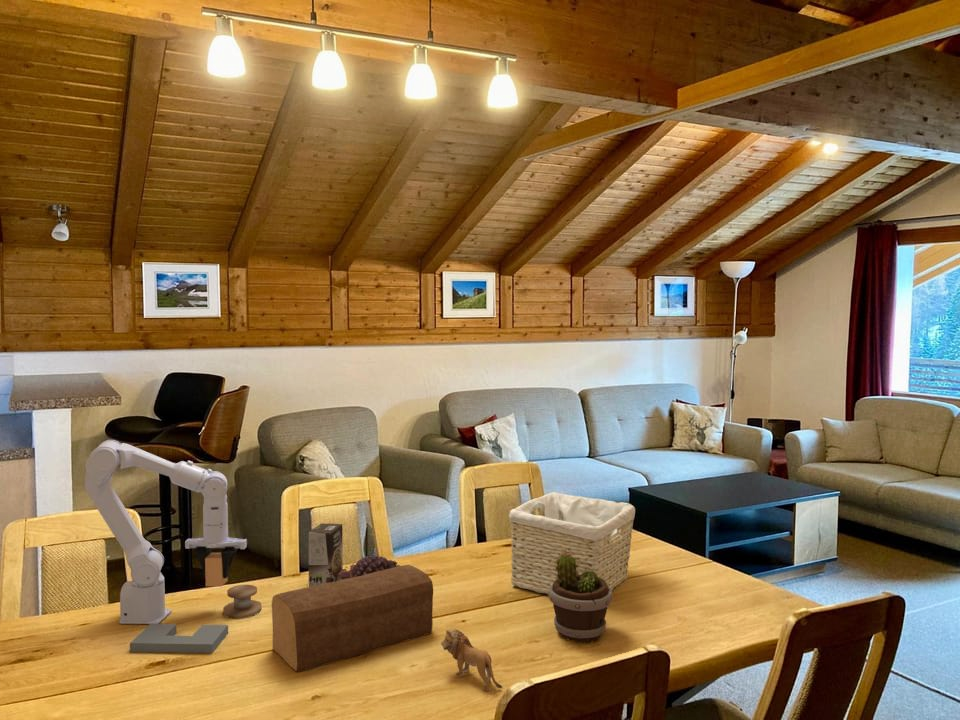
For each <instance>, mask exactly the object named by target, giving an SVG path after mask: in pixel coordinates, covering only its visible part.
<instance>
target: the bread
mask: <svg viewBox="0 0 960 720" xmlns="http://www.w3.org/2000/svg"><path fill="white" fill-rule="evenodd" d="M271 599H272V600H271V615H272V617H271V618H272V624H271V625H272V650H273V651H275V652H276V653H277V654H278V655H279V656H280V657H281V658H282V659H283V660H284V661H285V662H286V663H287V664H288V665H289V666H290V667H291V668H292V669H293V670H294V671H295V672H297V673H299V672H303V671H307V670H310V669H311V670H312V669H315V668H317V667H318V668H319V667H321V666H324V665H328V664H331V663H334V662H338V661H341V660H345V659H349V658H352V657H356V656H359V655H362V654H365V653H369V652H373V651H376V650H379V649H384V648H387V647H390V646H393V645H397V644H400V643H403V642H406V641H410V640H413V639H416V638H419V637H422V636H425V635H426V636H427V635H429V634H432V630H433V623H434V622H433V605H434V600H433V599H434V583H433V580H432V579H431V577H430V576H429V574H428V573H426V572H424V571H423V570H421V569H419V568H418V567H416V566H414V565H411V564H403V565H400V566H398V567H394V568H391V569H386V570H382V571H378V572H374V573H370V574H366V575H362V576H358V577H353V578H348V579H344V580H340V581H336V582H330V583H324V584H320V585H316V586H312V587H309V586H307V587H304V588H303V587H302V588H297V589H294V590H288V591H285V592H280V593H277V594H275V595H273V596H272V598H271Z"/></svg>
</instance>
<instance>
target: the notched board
mask: <svg viewBox="0 0 960 720" xmlns="http://www.w3.org/2000/svg"><path fill="white" fill-rule="evenodd" d="M177 632H178V631H177V623H159V624H148V626H147V627H146V628H144V629H143V630H142V631H141V632H140V633H139V634H138V635H137V636H136V637H135V638H134V639H133V640H131V642H129V652H130V653H164V652H174V654H175V652H178V653H177V654H179V653H180V652H182V653H181V654H213V653H214V652H215V651H216V650H217V648H218V647H219V646H220V645H221V643H222V642H223V641H224V639H225V638H226V637H227V636H228V634H229V625H228V624H201V625H200V627H198V628H197V630H196V631H195V632H194V633H193V634H192V635H176V634H177ZM226 635H227V636H226ZM222 640H223V641H222ZM218 645H219V646H218ZM214 650H215V651H214Z"/></svg>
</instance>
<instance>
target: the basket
mask: <svg viewBox="0 0 960 720" xmlns="http://www.w3.org/2000/svg"><path fill="white" fill-rule="evenodd" d="M536 510H537V512H538V515H535V514H533V512H534V511H536ZM635 514H636V508H635V506H634V505H632V504H631V503H628V502H622V501H620V502H616V501H614V500H606V499H604V498H603V499H602V498H594V497H593V498H592V497H584V496H582V495H580V496H578V495H570V494H565V493H559V492H556V491H554V492H553V491H552V492H549V493H546V494H544V495H542V496H540V497H537V498H534V499H530V500H528V501H526V502H524V503H522V504H520V505H519V506H517V507H515V508H513V509H511V510H510V511H509V515H508V517H509V522H510V525H511V526H510V529H511V531H510V533H511V534H510V535H511V541H510V542H511V543H510V545H511V563H510V564H511V579H510V580H511V581H510V583H511V585H512V586H514V587H518V588H520V589H525V590H526V589H527V590H530V591H534V592H536V593H540V594H545V595H549V588H550V586H551V585H552V584H553V583H554V581H555V580H556V579H558V578H555V577H556V575H558V573H557V572H558V571H555V570H554V569H555V567H557V565H556V564H557V563H556V562H557V560H558V559H559V558H560V556H562V553H563V552H564V553H568V552H569V553H570V552H571V551H572V552H571V554H572V555H570V556H572V557H574V559H575V558H576V559H577V560H575V561H576V564H577V565H578V567H577V568H576V572H577V570H578V572H579V573H578V574H577V575H581V574H582V573H584V572H585V570H586V571H589V569H591V570H592V569H595V571H596V572H595V571H594V570H592V571H593V572H595V573H596V574H597V576H598V577H599V578H602V579H604V580H605V582H606V583H607V585H608V587H610V588H611V590H612V591H613V590H614V589H615V587H617V586H620V585H621V583H622V582H624V581H626V580H627V579H628V571H629V569H628V568H629V560H630V556H631V554H630V552H631V546H632V545H631V544H632V532H633V526H634V520H635V517H636V516H635ZM564 548H565V549H566V550H565V549H564ZM561 551H562V552H561ZM565 551H566V552H565ZM559 555H560V556H559ZM567 555H568V554H567ZM557 556H559V557H557ZM555 561H556V562H555ZM579 565H580V566H579ZM591 566H592V567H591ZM588 567H589V568H588ZM590 567H591V568H590ZM587 568H588V569H587ZM583 570H584V571H583ZM555 574H556V575H555Z"/></svg>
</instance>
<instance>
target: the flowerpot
mask: <svg viewBox="0 0 960 720" xmlns="http://www.w3.org/2000/svg"><path fill="white" fill-rule="evenodd" d="M564 549H565V548H564ZM565 550H566V549H565ZM561 552H562V551H561ZM565 552H566V551H565ZM571 552H572V551H571ZM571 552H570V553H569V552H568V553H564V552H563V553H562V556H560V555H559V556H560V558H559V559H558V560H557V562H556V561H555V562H556V563H557V564H556V565H557V567H555V569H554V570H555V571H558V572H557V573H558V575H556V574H555V575H556V577H555V578H558V579H556V580H555V581H554V583H553V584H552V585H551V586H550V588H549V594H548V599H549V601H550V602H551V603H552V606H553V610H554V614H555V616H554V618H553V623H554V628H555V629H556V631H557V632H558V635H559V636H561V637H562V638H564V639H566V640H568V641H571V642H576V643H577V642H581V643H586V642H588V641H589V642H593V641H594V642H595V641H596V640H598V639H600V637H601V636H602V634H604V632H605V630H606V626H607V620H606V619H605V618H606V615H607V611H608V607H609V606H610V605H611V604H612V603H613V590H611V588H610V587H608V585H607V583H606V582H605V580H604V579H602V578H599V577H598V576H597V574H596V573H595V572H596V571H595V569H592V570H594V571H595V572H593V571H592V570H591V569H589V571H586V570H585V572H584V573H582V574H581V575H577V574H578V573H579V572H578V570H577V572H576V568H577V567H578V565H577V564H576V561H575V560H577V559H576V558H575V559H574V557H572V556H570V555H572V554H571ZM567 554H568V555H567ZM559 556H557V557H559ZM579 566H580V565H579ZM591 567H592V566H591ZM591 567H590V568H591ZM588 568H589V567H588ZM588 568H587V569H588ZM583 571H584V570H583Z"/></svg>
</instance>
